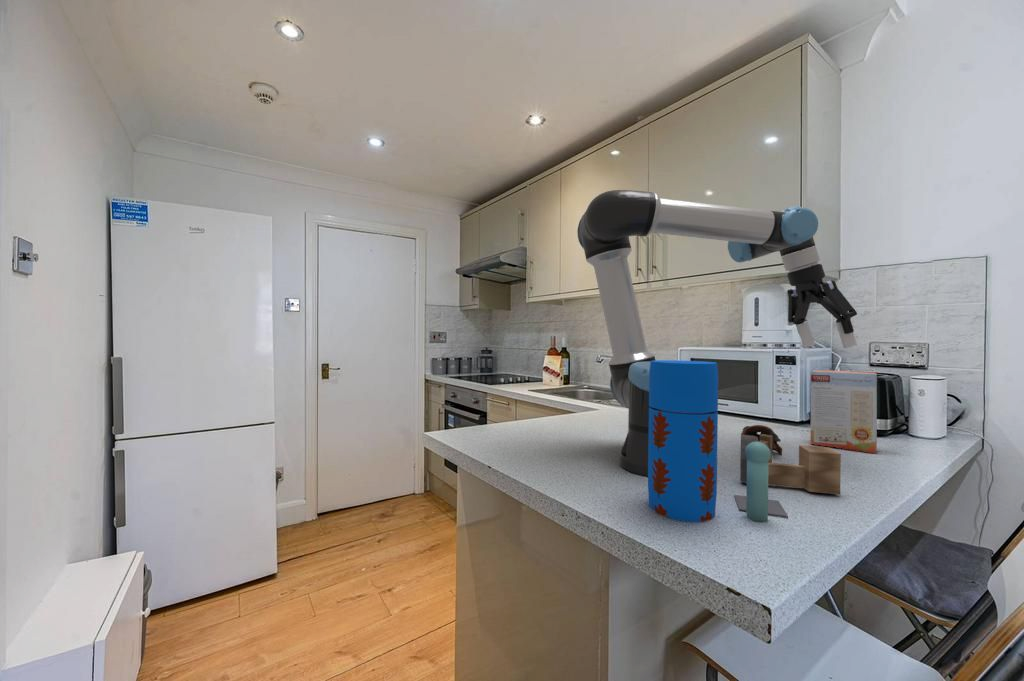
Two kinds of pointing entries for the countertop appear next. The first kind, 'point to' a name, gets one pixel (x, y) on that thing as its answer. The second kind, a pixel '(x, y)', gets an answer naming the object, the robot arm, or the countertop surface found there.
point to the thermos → (683, 439)
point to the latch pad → (773, 506)
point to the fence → (767, 443)
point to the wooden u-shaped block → (801, 469)
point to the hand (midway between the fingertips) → (828, 346)
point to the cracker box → (844, 410)
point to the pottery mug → (764, 430)
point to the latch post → (757, 481)
